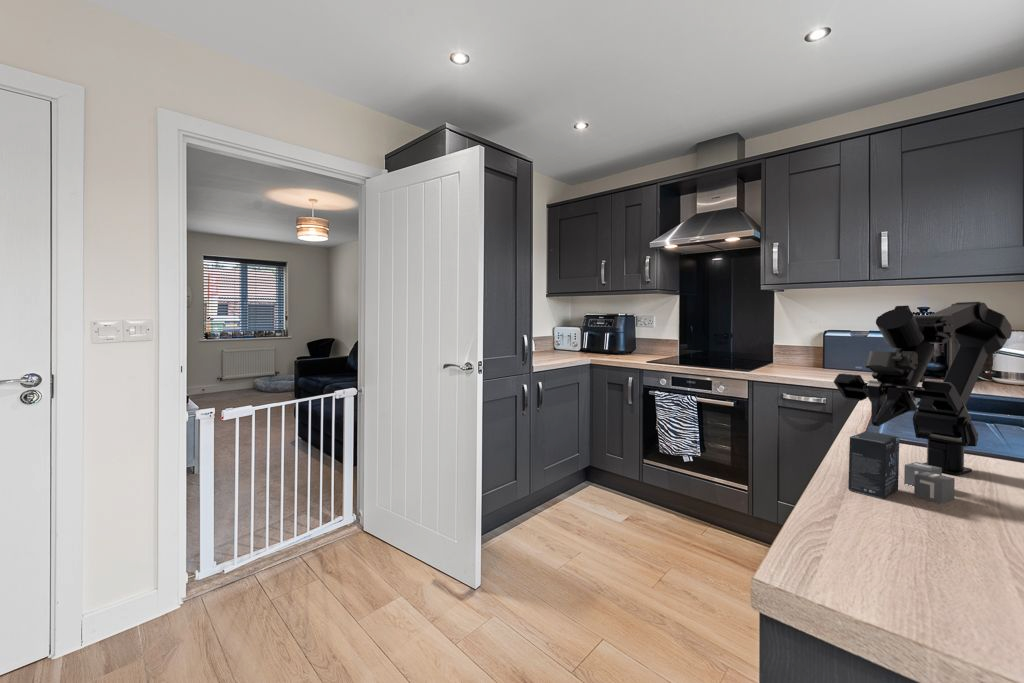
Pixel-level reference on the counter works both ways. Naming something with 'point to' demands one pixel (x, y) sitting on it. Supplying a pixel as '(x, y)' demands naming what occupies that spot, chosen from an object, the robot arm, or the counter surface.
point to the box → (874, 464)
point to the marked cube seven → (934, 487)
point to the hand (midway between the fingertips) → (874, 424)
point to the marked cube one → (918, 471)
